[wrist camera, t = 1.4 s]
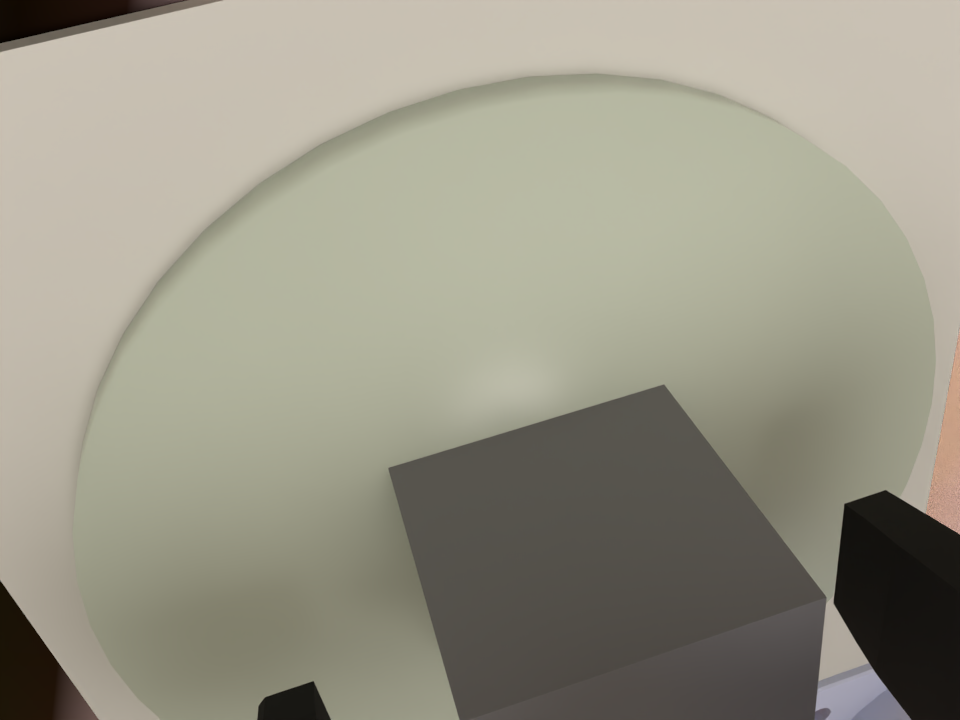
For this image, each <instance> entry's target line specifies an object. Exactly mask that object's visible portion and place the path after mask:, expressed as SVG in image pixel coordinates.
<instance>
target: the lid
mask: <svg viewBox="0 0 960 720" xmlns="http://www.w3.org/2000/svg"><path fill="white" fill-rule="evenodd" d="M935 367H936V353H935V335H934V319H933V315H932V310H931V306H930V302H929V297H928V293H927V289H926V284H925V280H924V277H923V275H922V272H921V270H920V268H919V265H918V263H917V261H916V259H915V256H914V254H913V252H912V249H911V247H910V245H909V242H908V240H907V238H906V236H905V235H904V234H903V232H902V231H901V229H900V228H899V226H898V225H897V223H896V222H895V220H894V219H893V218H892V216H891V215H890V213H889V212H888V210H887V209H886V207H885V206H884V204H883V203H882V201H881V200H880V199H879V198H878V197H877V196H876V195H875V194H874V193H873V192H872V191H871V190H870V189H869V188H868V187H867V186H866V185H865V184H864V183H863V182H862V181H861V180H860V179H859V178H857V177H856V176H855V175H854V174H853V173H852V172H851V171H850V170H849V169H848V168H847V167H846V166H845V165H843V164H842V163H840V162H839V161H837V160H836V159H834V158H833V157H831V156H830V155H828V154H827V153H825V152H824V151H822V150H821V149H819V148H818V147H817V146H815V145H814V144H812V143H811V142H809V141H808V140H806V139H805V138H803V137H801V136H800V135H798V134H797V133H795V132H793V131H792V130H790V129H788V128H787V127H785V126H784V125H782V124H780V123H779V122H777V121H775V120H774V119H772V118H771V117H769V116H767V115H764V114H762V113H760V112H757V111H755V110H753V109H751V108H748V107H746V106H744V105H741V104H739V103H737V102H735V101H732V100H730V99H728V98H726V97H723V96H721V95H719V94H715V93H711V92H707V91H703V90H699V89H695V88H691V87H688V86H684V85H680V84H676V83H672V82H668V81H664V80H659V79H649V78H638V77H628V76H618V75H608V74H598V73H596V74H575V75H553V76H531V77H524V78H519V79H513V80H508V81H502V82H497V83H492V84H486V85H481V86H475V87H470V88H464V89H459V90H456V91H453V92H450V93H447V94H443V95H440V96H437V97H434V98H431V99H428V100H425V101H422V102H419V103H416V104H413V105H409V106H406V107H403V108H400V109H397V110H394V111H391V112H388V113H386V114H384V115H382V116H380V117H378V118H375V119H373V120H371V121H369V122H367V123H365V124H363V125H361V126H358V127H356V128H354V129H352V130H350V131H348V132H346V133H344V134H342V135H339V136H337V137H335V138H333V139H331V140H329V141H327V142H325V143H322V144H321V145H319V146H318V147H316V148H314V149H313V150H311V151H310V152H308V153H307V154H305V155H304V156H302V157H300V158H299V159H297V160H296V161H294V162H293V163H291V164H289V165H288V166H286V167H285V168H283V169H282V170H280V171H279V172H277V173H275V174H274V175H272V176H271V177H269V178H268V179H266V180H264V181H263V182H261V183H260V184H259V185H257V186H256V187H255V188H254V189H253V190H251V191H250V192H249V193H248V194H247V195H245V196H244V197H243V198H242V199H241V200H240V201H238V202H237V203H236V204H235V205H234V206H232V207H231V208H230V209H229V210H228V211H226V212H225V213H224V214H223V215H222V216H221V217H219V218H218V219H217V220H216V221H215V222H213V223H212V224H211V225H210V226H209V227H208V228H206V229H205V230H204V231H203V232H202V233H201V235H200V236H199V237H198V238H197V239H196V240H195V241H194V242H193V243H192V245H191V246H190V247H189V248H188V249H187V250H186V251H185V252H184V253H183V255H182V256H181V257H180V258H179V259H178V260H177V261H176V262H175V263H174V264H173V266H172V267H171V268H170V269H169V270H168V271H167V272H166V273H165V274H164V276H163V277H162V278H161V279H160V280H159V281H158V283H157V284H156V286H155V287H154V289H153V290H152V292H151V293H150V295H149V296H148V298H147V299H146V301H145V302H144V304H143V305H142V307H141V308H140V310H139V311H138V313H137V314H136V316H135V317H134V319H133V320H132V322H131V323H130V325H129V326H128V328H127V329H126V331H125V332H124V334H123V336H122V338H121V340H120V342H119V344H118V346H117V348H116V351H115V353H114V355H113V357H112V359H111V361H110V363H109V366H108V368H107V370H106V372H105V374H104V376H103V378H102V381H101V383H100V385H99V387H98V390H97V393H96V397H95V401H94V404H93V408H92V411H91V415H90V419H89V422H88V426H87V429H86V433H85V437H84V440H83V445H82V452H81V459H80V465H79V472H78V478H77V487H76V498H75V509H74V520H73V530H72V535H73V546H74V556H75V566H76V577H77V583H78V587H79V590H80V593H81V597H82V600H83V603H84V607H85V610H86V613H87V617H88V620H89V623H90V626H91V628H92V630H93V632H94V634H95V636H96V638H97V640H98V641H99V643H100V645H101V647H102V649H103V651H104V653H105V655H106V657H107V659H108V660H109V662H110V664H111V666H112V667H113V668H114V670H115V671H116V672H117V673H118V675H119V676H120V677H121V678H122V680H123V681H124V682H125V683H126V685H127V686H128V687H129V689H130V690H131V691H132V692H133V694H134V695H135V696H136V697H137V699H139V700H140V701H141V702H142V703H143V704H144V705H145V706H146V707H147V708H149V709H150V710H151V711H152V712H153V713H154V714H155V715H156V716H157V717H159V718H160V719H161V720H257V717H258V706H259V704H260V703H261V702H262V700H263V699H264V698H265V697H267V696H270V695H273V694H276V693H279V692H282V691H285V690H288V689H291V688H294V687H297V686H300V685H303V684H306V683H309V682H312V681H314V683H315V685H316V687H317V690H318V692H319V694H320V696H321V699H322V701H323V703H324V705H325V707H326V710H327V712H328V714H329V716H330V719H331V720H814V719H815V709H816V699H817V689H818V679H819V669H820V659H821V649H822V639H823V629H824V619H825V609H826V603H827V602H828V601H829V600H830V599H831V598H832V597H833V596H834V593H835V584H836V575H837V566H838V557H839V548H840V539H841V530H842V521H843V512H844V504H845V503H848V502H851V501H854V500H857V499H860V498H863V497H866V496H869V495H872V494H875V493H878V492H881V491H884V490H887V491H888V492H890V493H892V494H893V495H895V496H897V497H898V498H900V496H901V495H902V493H903V491H904V489H905V487H906V485H907V483H908V480H909V477H910V475H911V472H912V469H913V467H914V464H915V461H916V459H917V456H918V453H919V451H920V448H921V446H922V442H923V438H924V434H925V430H926V426H927V422H928V417H929V413H930V409H931V405H932V397H933V387H934V377H935Z"/></svg>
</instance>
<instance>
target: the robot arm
mask: <svg viewBox="0 0 960 720" xmlns="http://www.w3.org/2000/svg"><path fill="white" fill-rule="evenodd" d="M833 604H834V605H835V607H836V609H837V610H838V612H839V614H840V616H841V617H842V619H843V621H844V622H845V624H846V626H847V627H848V629H849V631H850V633H851V634H852V636H853V638H854V639H855V641H856V643H857V644H858V646H859V647H860V649H861V651H862V652H863V654H864V655H865V657H866V659H867V660H868V662H869V663H868V664H865V665H862V666H860V667H857V668H854V669H851V670H848V671H846V672H843V673H840V674H837V675H834V676H832V677H829V678H826V679H823V680H820V681H818V689H817V699H816V709H815V719H814V720H960V534H958V533H956V532H955V531H953V530H951V529H950V528H948V527H946V526H945V525H943V524H941V523H940V522H938V521H936V520H935V519H933V518H932V517H930V516H928V515H927V514H925V513H923V512H922V511H920V510H918V509H917V508H915V507H913V506H912V505H910V504H908V503H907V502H905V501H903V500H902V499H900V498H898V497H897V496H895V495H893V494H892V493H890V492H888V491H887V490H884V491H881V492H878V493H875V494H872V495H869V496H866V497H863V498H860V499H857V500H854V501H851V502H848V503H845V504H844V512H843V521H842V530H841V539H840V548H839V557H838V566H837V575H836V584H835V593H834V602H833ZM257 720H331V719H330V716H329V714H328V712H327V710H326V707H325V705H324V703H323V701H322V699H321V696H320V694H319V692H318V690H317V687H316V685H315V683H314V681H312V682H309V683H306V684H303V685H300V686H297V687H294V688H291V689H288V690H285V691H282V692H279V693H276V694H273V695H270V696H267V697H265V698H264V699H263V700H262V702H261V703H260V704H259V706H258V717H257Z"/></svg>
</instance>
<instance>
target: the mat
mask: <svg viewBox="0 0 960 720" xmlns="http://www.w3.org/2000/svg"><path fill="white" fill-rule="evenodd" d="M596 73H598V74H608V75H618V76H628V77H638V78H649V79H659V80H664V81H668V82H672V83H676V84H680V85H684V86H688V87H691V88H695V89H699V90H703V91H707V92H711V93H715V94H719V95H721V96H723V97H726V98H728V99H730V100H732V101H735V102H737V103H739V104H741V105H744V106H746V107H748V108H751V109H753V110H755V111H757V112H760V113H762V114H764V115H767V116H769V117H771V118H772V119H774V120H775V121H777V122H779V123H780V124H782V125H784V126H785V127H787V128H788V129H790V130H792V131H793V132H795V133H797V134H798V135H800V136H801V137H803V138H805V139H806V140H808V141H809V142H811V143H812V144H814V145H815V146H817V147H818V148H819V149H821V150H822V151H824V152H825V153H827V154H828V155H830V156H831V157H833V158H834V159H836V160H837V161H839V162H840V163H842V164H843V165H845V166H846V167H847V168H848V169H849V170H850V171H851V172H852V173H853V174H854V175H855V176H856V177H857V178H859V179H860V180H861V181H862V182H863V183H864V184H865V185H866V186H867V187H868V188H869V189H870V190H871V191H872V192H873V193H874V194H875V195H876V196H877V197H878V198H879V199H880V200H881V201H882V203H883V204H884V206H885V207H886V209H887V210H888V212H889V213H890V215H891V216H892V218H893V219H894V220H895V222H896V223H897V225H898V226H899V228H900V229H901V231H902V232H903V234H904V235H905V236H906V238H907V240H908V242H909V245H910V247H911V249H912V252H913V254H914V256H915V259H916V261H917V263H918V265H919V268H920V270H921V272H922V275H923V277H924V280H925V284H926V289H927V293H928V297H929V302H930V306H931V310H932V315H933V319H934V335H935V353H936V367H935V377H934V387H933V397H932V405H931V409H930V413H929V417H928V422H927V426H926V430H925V434H924V438H923V442H922V446H921V448H920V451H919V453H918V456H917V459H916V461H915V464H914V467H913V469H912V472H911V475H910V477H909V480H908V483H907V485H906V487H905V489H904V491H903V493H902V495H901V496H900V499H902V500H903V501H905V502H907V503H908V504H910V505H912V506H913V507H915V508H917V509H918V510H920V511H922V512H923V513H925V514H926V509H927V504H928V498H929V493H930V487H931V482H932V476H933V471H934V465H935V460H936V455H937V449H938V444H939V438H940V433H941V427H942V422H943V416H944V411H945V405H946V400H947V394H948V389H949V383H950V378H951V372H952V367H953V361H954V356H955V351H956V345H957V340H958V334H959V329H960V0H187V1H182V2H178V3H174V4H169V5H165V6H161V7H156V8H152V9H148V10H143V11H139V12H135V13H130V14H126V15H122V16H117V17H113V18H109V19H104V20H100V21H96V22H91V23H87V24H83V25H78V26H74V27H70V28H65V29H61V30H57V31H52V32H48V33H44V34H39V35H35V36H31V37H26V38H22V39H18V40H13V41H9V42H5V43H0V580H1V582H2V583H3V585H4V586H5V588H6V589H7V590H8V592H9V593H10V595H11V596H12V597H13V599H14V600H15V602H16V603H17V604H18V606H19V607H20V609H21V610H22V612H23V613H24V614H25V616H26V617H27V619H28V620H29V621H30V623H31V624H32V626H33V627H34V629H35V630H36V631H37V633H38V634H39V636H40V637H41V638H42V640H43V641H44V643H45V644H46V645H47V647H48V648H49V650H50V651H51V653H52V654H53V655H54V657H55V658H56V660H57V661H58V662H59V664H60V665H61V667H62V668H63V670H64V671H65V672H66V674H67V675H68V677H69V678H70V679H71V681H72V682H73V684H74V685H75V686H76V688H77V689H78V691H79V692H80V694H81V695H82V696H83V698H84V699H85V701H86V702H87V703H88V705H89V706H90V708H91V709H92V711H93V712H94V713H95V715H96V716H97V718H98V719H99V720H161V719H160V718H159V717H157V716H156V715H155V714H154V713H153V712H152V711H151V710H150V709H149V708H147V707H146V706H145V705H144V704H143V703H142V702H141V701H140V700H139V699H137V697H136V696H135V695H134V694H133V692H132V691H131V690H130V689H129V687H128V686H127V685H126V683H125V682H124V681H123V680H122V678H121V677H120V676H119V675H118V673H117V672H116V671H115V670H114V668H113V667H112V666H111V664H110V662H109V660H108V659H107V657H106V655H105V653H104V651H103V649H102V647H101V645H100V643H99V641H98V640H97V638H96V636H95V634H94V632H93V630H92V628H91V626H90V623H89V620H88V617H87V613H86V610H85V607H84V603H83V600H82V597H81V593H80V590H79V587H78V583H77V577H76V566H75V556H74V546H73V535H72V530H73V520H74V509H75V498H76V487H77V478H78V472H79V465H80V459H81V452H82V445H83V440H84V437H85V433H86V429H87V426H88V422H89V419H90V415H91V411H92V408H93V404H94V401H95V397H96V393H97V390H98V387H99V385H100V383H101V381H102V378H103V376H104V374H105V372H106V370H107V368H108V366H109V363H110V361H111V359H112V357H113V355H114V353H115V351H116V348H117V346H118V344H119V342H120V340H121V338H122V336H123V334H124V332H125V331H126V329H127V328H128V326H129V325H130V323H131V322H132V320H133V319H134V317H135V316H136V314H137V313H138V311H139V310H140V308H141V307H142V305H143V304H144V302H145V301H146V299H147V298H148V296H149V295H150V293H151V292H152V290H153V289H154V287H155V286H156V284H157V283H158V281H159V280H160V279H161V278H162V277H163V276H164V274H165V273H166V272H167V271H168V270H169V269H170V268H171V267H172V266H173V264H174V263H175V262H176V261H177V260H178V259H179V258H180V257H181V256H182V255H183V253H184V252H185V251H186V250H187V249H188V248H189V247H190V246H191V245H192V243H193V242H194V241H195V240H196V239H197V238H198V237H199V236H200V235H201V233H202V232H203V231H204V230H205V229H206V228H208V227H209V226H210V225H211V224H212V223H213V222H215V221H216V220H217V219H218V218H219V217H221V216H222V215H223V214H224V213H225V212H226V211H228V210H229V209H230V208H231V207H232V206H234V205H235V204H236V203H237V202H238V201H240V200H241V199H242V198H243V197H244V196H245V195H247V194H248V193H249V192H250V191H251V190H253V189H254V188H255V187H256V186H257V185H259V184H260V183H261V182H263V181H264V180H266V179H268V178H269V177H271V176H272V175H274V174H275V173H277V172H279V171H280V170H282V169H283V168H285V167H286V166H288V165H289V164H291V163H293V162H294V161H296V160H297V159H299V158H300V157H302V156H304V155H305V154H307V153H308V152H310V151H311V150H313V149H314V148H316V147H318V146H319V145H321V144H322V143H325V142H327V141H329V140H331V139H333V138H335V137H337V136H339V135H342V134H344V133H346V132H348V131H350V130H352V129H354V128H356V127H358V126H361V125H363V124H365V123H367V122H369V121H371V120H373V119H375V118H378V117H380V116H382V115H384V114H386V113H388V112H391V111H394V110H397V109H400V108H403V107H406V106H409V105H413V104H416V103H419V102H422V101H425V100H428V99H431V98H434V97H437V96H440V95H443V94H447V93H450V92H453V91H456V90H459V89H464V88H470V87H475V86H481V85H486V84H492V83H497V82H502V81H508V80H513V79H519V78H524V77H531V76H553V75H575V74H596ZM833 602H834V596H833V597H832V598H831V599H830V600H829V601H828V602H827V603H826V609H825V619H824V629H823V639H822V649H821V659H820V669H819V679H818V681H820V680H823V679H826V678H829V677H832V676H834V675H837V674H840V673H843V672H846V671H848V670H851V669H854V668H857V667H860V666H862V665H865V664H868V663H869V662H868V660H867V659H866V657H865V655H864V654H863V652H862V651H861V649H860V647H859V646H858V644H857V643H856V641H855V639H854V638H853V636H852V634H851V633H850V631H849V629H848V627H847V626H846V624H845V622H844V621H843V619H842V617H841V616H840V614H839V612H838V610H837V609H836V607H835V605H834V604H833Z"/></svg>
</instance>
